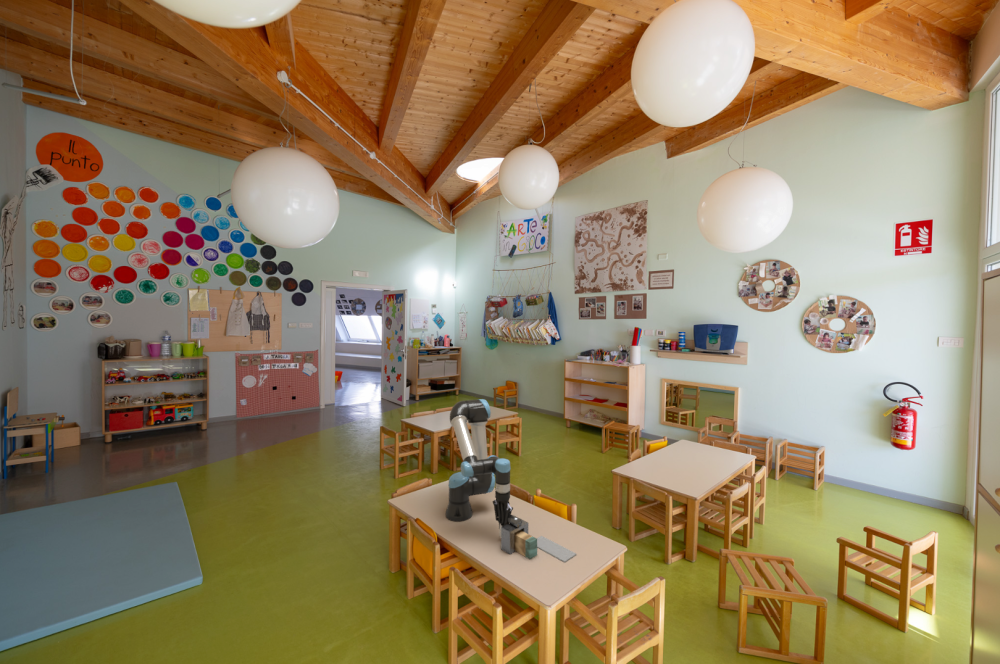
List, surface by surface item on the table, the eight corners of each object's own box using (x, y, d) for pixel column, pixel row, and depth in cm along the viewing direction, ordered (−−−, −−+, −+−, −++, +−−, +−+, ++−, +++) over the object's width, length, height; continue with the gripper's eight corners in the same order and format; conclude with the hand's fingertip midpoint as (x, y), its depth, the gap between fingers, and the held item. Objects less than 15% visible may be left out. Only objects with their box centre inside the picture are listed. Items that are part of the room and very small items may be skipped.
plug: (503, 544, 207) (503, 528, 207) (510, 540, 210) (510, 524, 210) (530, 559, 194) (530, 542, 194) (537, 555, 197) (537, 538, 197)
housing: (501, 549, 202) (501, 519, 202) (519, 539, 211) (519, 510, 210) (509, 554, 198) (509, 523, 197) (528, 544, 207) (528, 514, 206)
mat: (529, 543, 207) (529, 542, 207) (541, 536, 214) (541, 535, 214) (564, 562, 191) (564, 561, 191) (576, 554, 198) (576, 553, 198)
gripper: (488, 488, 212) (488, 533, 213) (506, 496, 202) (506, 543, 203) (499, 484, 217) (499, 528, 218) (517, 492, 208) (516, 538, 209)
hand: (502, 536), depth 211 cm, fingers closed
